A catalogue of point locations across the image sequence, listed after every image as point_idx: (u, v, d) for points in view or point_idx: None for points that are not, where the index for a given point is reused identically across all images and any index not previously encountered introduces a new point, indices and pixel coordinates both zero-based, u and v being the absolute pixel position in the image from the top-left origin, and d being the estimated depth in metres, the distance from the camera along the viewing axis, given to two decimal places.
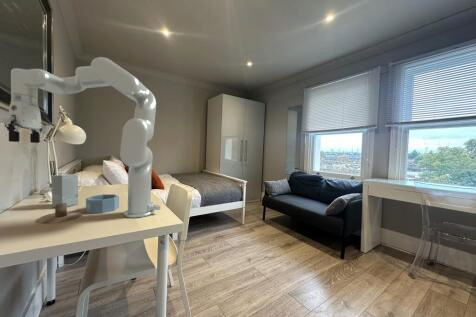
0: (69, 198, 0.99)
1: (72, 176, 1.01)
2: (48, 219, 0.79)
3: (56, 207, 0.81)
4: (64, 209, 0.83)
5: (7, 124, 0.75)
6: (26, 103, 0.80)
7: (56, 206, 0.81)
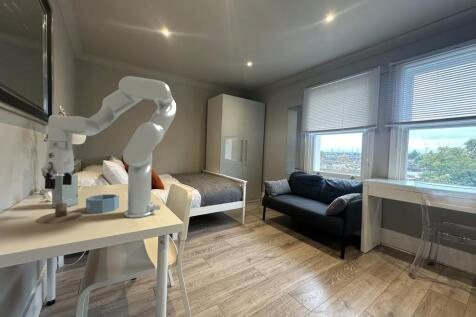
0: (69, 198, 0.99)
1: (72, 176, 1.01)
2: (48, 219, 0.79)
3: (56, 207, 0.81)
4: (64, 209, 0.83)
5: (45, 173, 0.75)
6: (62, 149, 0.80)
7: (56, 206, 0.81)
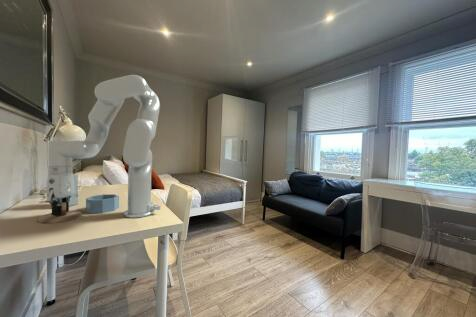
0: None
1: None
2: (47, 218, 0.79)
3: None
4: (64, 208, 0.83)
5: None
6: (63, 174, 0.81)
7: None
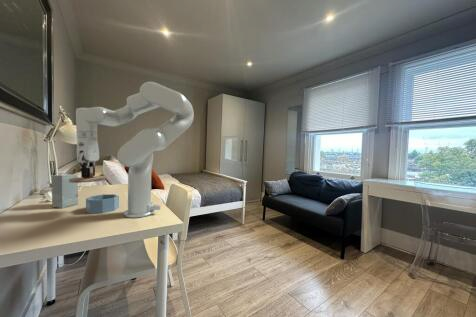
0: (69, 198, 0.99)
1: (72, 176, 1.01)
2: (78, 179, 0.86)
3: None
4: (91, 171, 0.90)
5: None
6: (90, 139, 0.88)
7: None
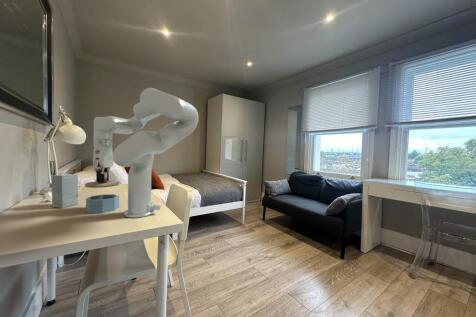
0: (69, 198, 0.99)
1: (72, 176, 1.01)
2: (93, 184, 0.91)
3: None
4: (105, 177, 0.95)
5: None
6: (106, 146, 0.93)
7: None
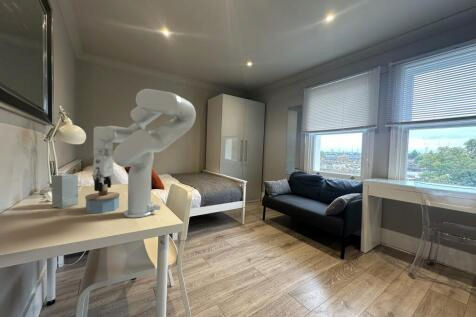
0: (69, 198, 0.99)
1: (72, 176, 1.01)
2: (94, 197, 0.91)
3: None
4: (106, 189, 0.95)
5: (95, 178, 0.88)
6: (106, 156, 0.93)
7: None
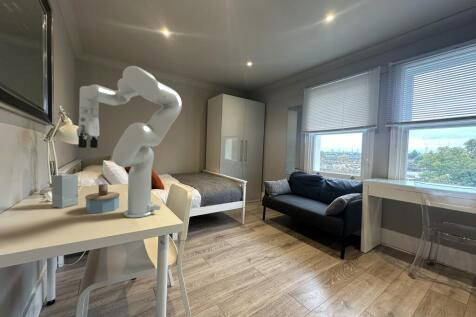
0: (69, 198, 0.99)
1: (72, 176, 1.01)
2: (94, 197, 0.91)
3: (99, 187, 0.94)
4: (106, 189, 0.95)
5: (79, 133, 0.90)
6: (91, 115, 0.96)
7: (99, 186, 0.94)
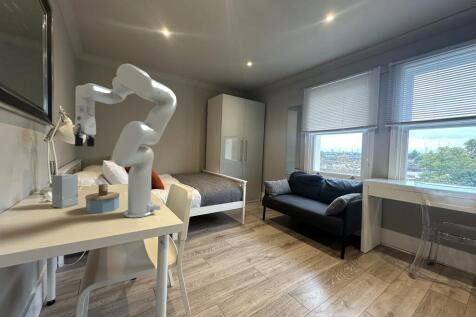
0: (69, 198, 0.99)
1: (72, 176, 1.01)
2: (94, 197, 0.91)
3: (99, 187, 0.94)
4: (106, 189, 0.95)
5: (75, 132, 0.91)
6: (87, 114, 0.96)
7: (99, 186, 0.94)
